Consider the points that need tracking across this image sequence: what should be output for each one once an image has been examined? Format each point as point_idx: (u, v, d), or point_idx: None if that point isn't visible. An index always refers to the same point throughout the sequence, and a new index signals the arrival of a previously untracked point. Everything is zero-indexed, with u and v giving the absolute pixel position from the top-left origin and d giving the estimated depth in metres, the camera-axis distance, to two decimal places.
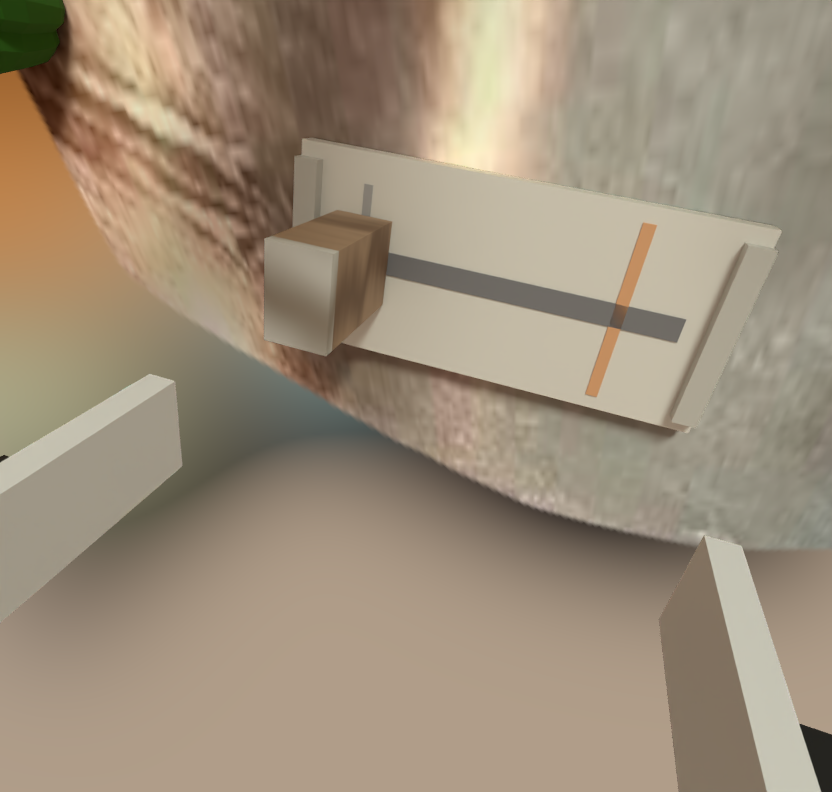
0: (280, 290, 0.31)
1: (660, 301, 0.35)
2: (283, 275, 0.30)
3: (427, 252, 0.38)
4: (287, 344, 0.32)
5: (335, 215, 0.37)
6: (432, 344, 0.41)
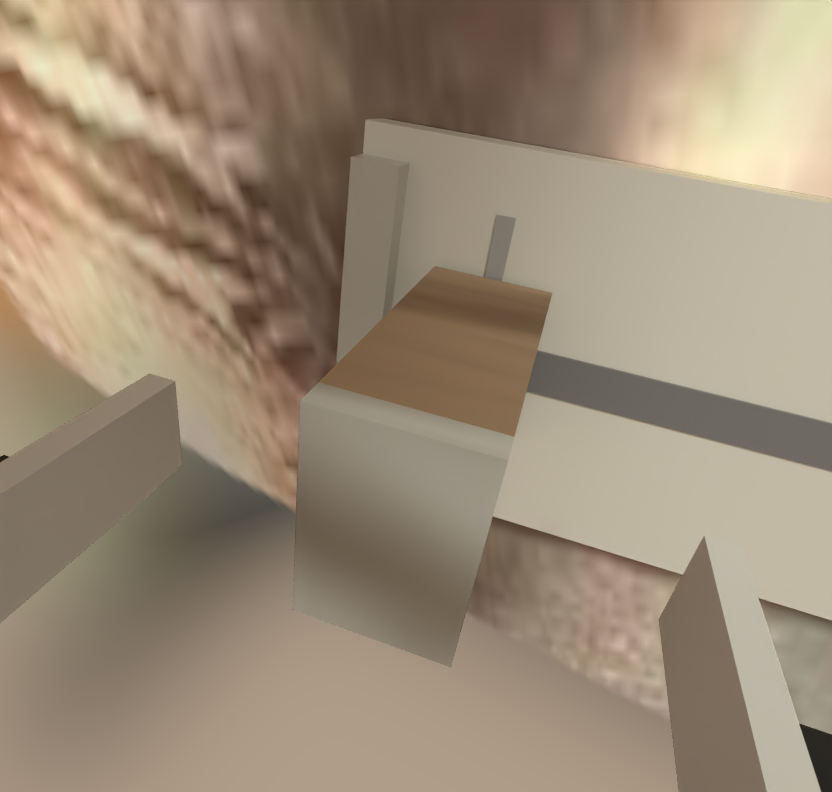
0: (340, 522, 0.12)
1: None
2: (350, 491, 0.11)
3: (620, 353, 0.19)
4: (353, 629, 0.13)
5: (438, 283, 0.17)
6: (602, 513, 0.22)
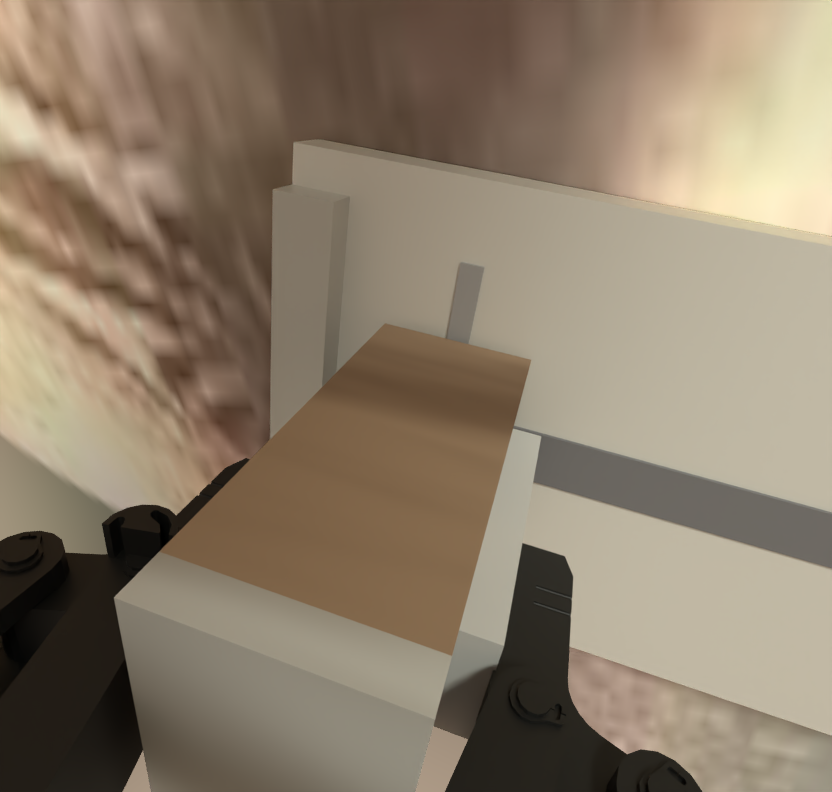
0: (200, 751, 0.08)
1: None
2: (208, 719, 0.07)
3: (616, 433, 0.15)
4: None
5: (384, 351, 0.13)
6: (596, 615, 0.18)
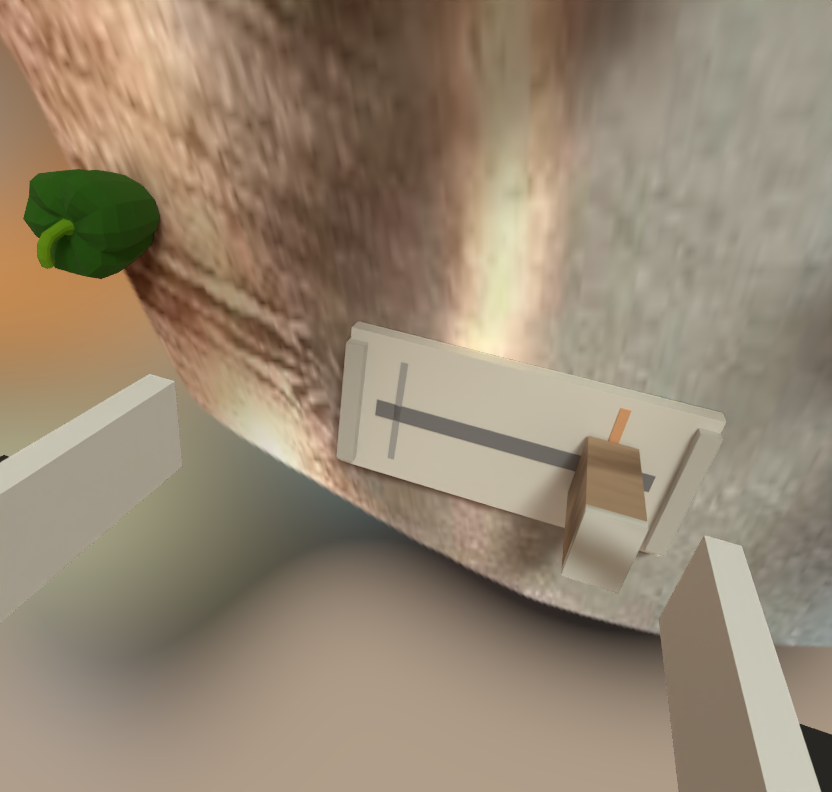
0: (589, 545, 0.37)
1: None
2: (595, 536, 0.37)
3: (450, 413, 0.48)
4: (583, 581, 0.39)
5: (595, 448, 0.43)
6: (453, 478, 0.51)
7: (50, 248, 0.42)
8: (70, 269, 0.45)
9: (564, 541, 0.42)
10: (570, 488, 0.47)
